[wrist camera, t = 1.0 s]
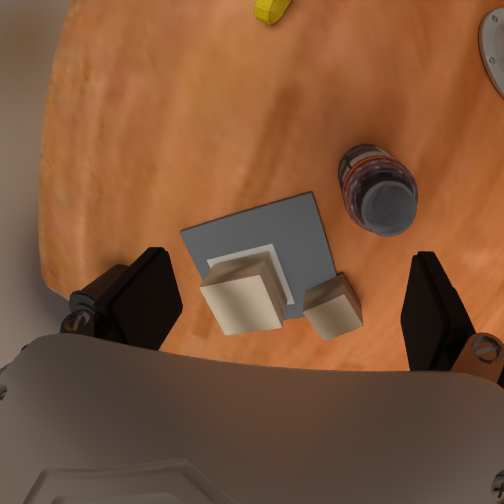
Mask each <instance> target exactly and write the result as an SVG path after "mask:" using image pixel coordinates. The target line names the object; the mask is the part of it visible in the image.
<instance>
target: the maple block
mask: <svg viewBox="0 0 504 504" xmlns="http://www.w3.org/2000/svg"><path fill="white" fill-rule="evenodd" d="M199 288H200V290H201V292H202V294H203V295H204V297H205V299H206V301H207V303H208V305H209V307H210V308H211V310H212V312H213V314H214V316H215V318H216V319H217V321H218V323H219V325H220V327H221V328H222V330H223V332H224V334H225V335H232V334H240V333H248V332H255V331H262V330H269V329H276V328H282V326H283V321H284V316H285V311H286V306H287V301H288V300H287V297H286V295H285V292H284V289H283V287H282V284H281V282H280V279H279V276H278V274H277V271H276V269H275V266H274V264H273V261H272V258H271V256H270V253H269V251H265V252H261V253H257V254H253V255H249V256H244V257H240V258H236V259H232V260H228V261H224V262H220V263H216V264H214V265H213V266H212V268H211V269H210V271H209V273H208V274H207V276H206V277H205V279H204V281H203V282H202V284H201V286H200V287H199Z"/></svg>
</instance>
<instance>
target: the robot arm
mask: <svg viewBox="0 0 504 504" xmlns="http://www.w3.org/2000/svg"><path fill="white" fill-rule="evenodd" d="M479 46H480V53H481V56H482V60H483V63H484V66H485V68H486V71H487V73H488V76H489V77H490V79H491V81H492V83H493V85H494V86H495V88H496V89H497V91H498V92H499V93H500V95H501V96H502V97H503V98H504V8H497V9H494V10H492V11H490V12H489V13H487V14H486V16H485V17H484V18H483V20H482V22H481V25H480V30H479ZM93 306H94V308H95V310H96V312H95V313H94V314H93V312H92V311H90V310H88V309H80V310H77V311H74V312H72V313H71V314H69V315H67V316H66V317H65V318H64V320H63V321H62V323H61V326H60V333H57V334H49V335H45V336H41V337H38V338H36V339H35V340H33V341H32V342H31V343H30V344H27V345H25V346H24V347H23V348H22V350H21V352H20V353H19V354H18V355H17V357H15V358H14V360H13V361H12V362H11V363H9V364H8V365H6V366H4V367H3V368H1V369H0V504H504V344H503V343H502V342H501V341H500V339H499V338H497V337H495V336H494V335H492V334H489V333H483V332H481V333H476V332H475V329H474V327H473V325H472V323H471V320H470V318H469V316H468V314H467V312H466V309H465V307H464V305H463V303H462V301H461V299H460V297H459V295H458V293H457V291H456V289H455V288H454V287H452V285H451V283H450V281H449V279H448V277H447V275H446V273H445V271H444V269H443V267H442V266H441V264H440V262H439V260H438V258H437V257H436V255H435V253H434V252H431V251H419V252H418V254H417V255H414V256H413V258H412V263H411V269H410V274H409V280H408V285H407V290H406V294H405V299H404V304H403V308H402V312H401V327H402V331H403V336H404V341H405V346H406V351H407V357H408V362H409V368H410V371H336V370H314V369H297V368H284V367H272V366H261V365H251V364H242V363H234V362H226V361H218V360H211V359H204V358H197V357H191V356H184V355H178V354H172V353H167V352H161V351H158V350H159V348H160V346H161V345H162V343H163V342H164V340H165V338H166V337H167V335H168V334H169V332H170V330H171V329H172V327H173V325H174V324H175V322H176V321H177V319H178V317H179V316H180V314H181V312H182V309H183V305H182V301H181V297H180V294H179V290H178V286H177V283H176V279H175V275H174V272H173V268H172V264H171V260H170V256H169V253H168V252H167V251H165V249H164V248H163V247H149V248H148V249H147V250H146V251H145V252H144V253H143V254H142V255H141V256H140V257H139V258H138V259H137V260H136V261H135V262H134V263H133V264H132V265H131V266H130V267H129V268H128V269H127V270H126V271H125V272H124V273H123V274H122V275H121V276H120V277H119V278H118V279H117V280H116V281H115V282H114V283H113V284H112V285H111V286H110V287H109V288H108V289H107V290H106V291H105V292H104V293H103V294H102V295H101V296H100V297H99V298H98V300H97V301H96V302H95V303H94V304H93Z"/></svg>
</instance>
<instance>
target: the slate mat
mask: <svg viewBox="0 0 504 504" xmlns="http://www.w3.org/2000/svg"><path fill="white" fill-rule="evenodd" d="M179 233H180V235H181V237H182V239H183V241H184V243H185V245H186V247H187V249H188V251H189V253H190V255H191V257H192V259H193V261H194V263H195V265H196V267H197V269H198V271H199V273H200V275H201V277H202V279H203V281H204V279H205V277H206V276H207V274H208V273H209V271H210V269H211V268H212V266H213V265H214V264H216V263H220V262H224V261H228V260H232V259H236V258H240V257H244V256H249V255H253V254H257V253H261V252H265V251H269V253H270V256H271V258H272V261H273V264H274V266H275V269H276V271H277V274H278V276H279V279H280V282H281V284H282V287H283V289H284V292H285V295H286V297H287V300H288V301H287V306H286V311H285V316H284V320H286V319H292V318H298V317H303V316H305V315H304V314H303V305H304V297H305V291H306V290H308V289H311V288H313V287H315V286H317V285H319V284H321V283H323V282H325V281H328V280H330V279H332V278H334V277H336V276H337V274H336V270H335V266H334V263H333V259H332V256H331V252H330V249H329V245H328V242H327V238H326V235H325V232H324V228H323V225H322V222H321V218H320V215H319V212H318V209H317V206H316V202H315V199H314V196H313V193H312V191H311V192H307V193H304V194H300V195H297V196H293V197H290V198H286V199H283V200H279V201H276V202H272V203H269V204H265V205H262V206H258V207H255V208H252V209H248V210H245V211H242V212H238V213H235V214H232V215H228V216H225V217H222V218H219V219H215V220H212V221H209V222H206V223H203V224H199V225H196V226H193V227H190V228H187V229H184V230H181V231H180V232H179Z"/></svg>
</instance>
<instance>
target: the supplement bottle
mask: <svg viewBox="0 0 504 504" xmlns="http://www.w3.org/2000/svg"><path fill="white" fill-rule="evenodd" d="M338 177H339V183H340V187H341V191H342V196H343V200H344V204H345V207H346V209H347V212H348V214H349V215H350V217H351V218H352V220H353V221H354V222H355V223H356V224H357V225H358V226H360V227H361V228H363V229H365V230H367V231H370V232H374V233H375V234H377V235H380V236H388V237H389V236H395V235H398V234H400V233H402V232H404V231H405V230H407V229H408V228H409V227H410V225H411V224H412V223H413V220H414V218H415V215H416V210H417V203H418V189H417V185H416V182H415V179H414V177H413V176H412V174H411V173H410V172H409V170H408V169H407V168H406V167H405V166H403V165H402V164H401V163H400V162H399V161H398V160H396V159H395V158H394V157H392V155H390V154H388V153H387V152H386V151H384V150H383V149H381V148H379V147H377V146H374V145H369V144H364V145H358V146H355V147H353V148H352V149H350V150H349V151H348V152H346V154H345V155H344V156H343V158H342V159H341V162H340V164H339V169H338Z"/></svg>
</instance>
